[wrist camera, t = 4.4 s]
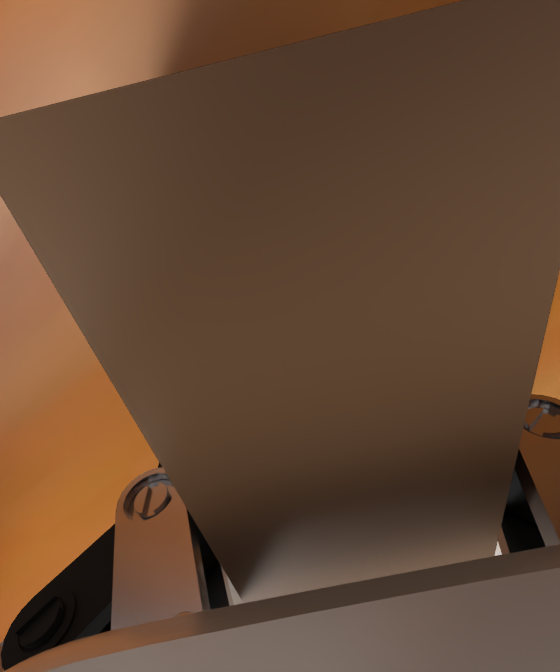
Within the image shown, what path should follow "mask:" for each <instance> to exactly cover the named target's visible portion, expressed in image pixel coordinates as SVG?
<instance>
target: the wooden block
mask: <svg viewBox="0 0 560 672" xmlns="http://www.w3.org/2000/svg"><path fill="white" fill-rule="evenodd" d="M0 195H1V197H2V199H3V200H4V202H5V204H6V205H7V207H8V209H9V210H10V212H11V214H12V215H13V217H14V219H15V220H16V222H17V224H18V225H19V227H20V229H21V230H22V232H23V234H24V236H25V237H26V239H27V241H28V242H29V244H30V246H31V247H32V249H33V251H34V252H35V254H36V256H37V257H38V259H39V261H40V262H41V264H42V266H43V267H44V269H45V271H46V272H47V274H48V276H49V277H50V279H51V281H52V283H53V284H54V286H55V288H56V289H57V291H58V293H59V294H60V296H61V298H62V299H63V301H64V303H65V304H66V306H67V308H68V309H69V311H70V313H71V314H72V316H73V318H74V319H75V321H76V323H77V325H78V326H79V328H80V330H81V331H82V333H83V335H84V336H85V338H86V340H87V341H88V343H89V345H90V346H91V348H92V350H93V351H94V353H95V355H96V356H97V358H98V360H99V361H100V363H101V365H102V367H103V368H104V370H105V372H106V373H107V375H108V377H109V378H110V380H111V382H112V383H113V385H114V387H115V388H116V390H117V392H118V393H119V395H120V397H121V398H122V400H123V402H124V403H125V405H126V407H127V408H128V410H129V412H130V414H131V415H132V417H133V419H134V420H135V422H136V424H137V425H138V427H139V429H140V430H141V432H142V434H143V435H144V437H145V439H146V440H147V442H148V444H149V445H150V447H151V449H152V450H153V452H154V454H155V456H156V457H157V459H158V461H159V462H160V464H161V466H162V467H163V469H164V471H165V472H166V474H167V476H168V477H169V479H170V481H171V482H172V484H173V486H174V487H175V489H176V491H177V492H178V494H179V496H180V498H181V499H182V501H183V503H184V504H185V506H186V508H187V509H188V511H189V513H190V514H191V516H192V518H193V519H194V521H195V523H196V524H197V526H198V528H199V529H200V531H201V533H202V534H203V536H204V538H205V539H206V541H207V543H208V545H209V546H210V548H211V550H212V551H213V553H214V555H215V556H216V558H217V560H218V561H219V563H220V565H221V566H222V568H223V570H224V571H225V573H226V575H227V576H228V578H229V580H230V581H231V583H232V585H233V587H234V588H235V590H236V592H237V593H238V595H239V597H240V598H241V600H242V602H243V603H248V602H253V601H258V600H263V599H268V598H274V597H279V596H284V595H289V594H294V593H300V592H305V591H310V590H315V589H321V588H326V587H331V586H336V585H342V584H347V583H352V582H358V581H363V580H368V579H374V578H379V577H384V576H390V575H395V574H400V573H406V572H411V571H417V570H422V569H427V568H433V567H438V566H443V565H449V564H454V563H460V562H465V561H470V560H476V559H481V558H487V557H492V556H494V554H495V550H496V546H497V541H498V537H499V533H500V528H501V524H502V519H503V515H504V511H505V506H506V502H507V497H508V493H509V489H510V484H511V480H512V476H513V471H514V467H515V462H516V458H517V454H518V449H519V445H520V441H521V436H522V432H523V427H524V423H525V419H526V414H527V410H528V406H529V401H530V397H531V392H532V388H533V384H534V379H535V375H536V370H537V366H538V362H539V357H540V353H541V349H542V344H543V340H544V335H545V331H546V327H547V322H548V318H549V314H550V309H551V305H552V300H553V296H554V292H555V287H556V283H557V279H558V274H559V270H560V0H463V1H459V2H455V3H451V4H447V5H443V6H439V7H435V8H431V9H427V10H423V11H420V12H416V13H412V14H408V15H404V16H400V17H396V18H392V19H388V20H384V21H380V22H376V23H372V24H368V25H364V26H360V27H356V28H352V29H348V30H344V31H340V32H336V33H332V34H328V35H324V36H321V37H317V38H313V39H309V40H305V41H301V42H297V43H293V44H289V45H285V46H281V47H277V48H273V49H269V50H265V51H261V52H257V53H253V54H249V55H245V56H241V57H237V58H233V59H229V60H225V61H222V62H218V63H214V64H210V65H206V66H202V67H198V68H194V69H190V70H186V71H182V72H178V73H174V74H170V75H166V76H162V77H158V78H154V79H150V80H146V81H142V82H138V83H134V84H130V85H126V86H123V87H119V88H115V89H111V90H107V91H103V92H99V93H95V94H91V95H87V96H83V97H79V98H75V99H71V100H67V101H63V102H59V103H55V104H51V105H47V106H43V107H39V108H35V109H31V110H27V111H24V112H20V113H16V114H12V115H8V116H4V117H0Z"/></svg>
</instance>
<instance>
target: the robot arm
mask: <svg viewBox="0 0 560 672" xmlns="http://www.w3.org/2000/svg"><path fill="white" fill-rule="evenodd" d="M498 542H499V546H500V549H501V552H502V555H498V556H492V557H487V558H481V559H476V560H470V561H465V562H460V563H454V564H449V565H443V566H438V567H433V568H427V569H422V570H417V571H411V572H406V573H400V574H395V575H390V576H384V577H379V578H374V579H368V580H363V581H358V582H352V583H347V584H342V585H336V586H331V587H326V588H321V589H315V590H310V591H305V592H300V593H294V594H289V595H284V596H279V597H274V598H268V599H263V600H258V601H253V602H248V603H242V604H237V605H234V604H233V600H232V596H231V591H230V587H229V582H228V578H227V575H226V573H225V571H224V570H223V568H222V566H221V565H220V563H219V561H218V560H217V558H216V556H215V555H214V553H213V551H212V550H211V548H210V546H209V545H208V543H207V541H206V539H205V538H204V536H203V534H202V533H201V531H200V529H199V528H198V526H197V524H196V523H195V521H194V519H193V518H192V516H191V514H190V513H189V511H188V509H187V508H186V506H185V504H184V503H183V501H182V499H181V498H180V496H179V494H178V492H177V491H176V489H175V487H174V486H173V484H172V482H171V481H170V479H169V477H168V476H167V474H166V472H165V471H164V469H163V467H162V466H161V464H160V462H159V466H158V468H155V469H152V470H149V471H147V472H145V473H143V474H141V475H139V476H138V477H137V478H135V479H134V480H133V481H132V482H131V483H130V484H129V485H128V486H127V487H126V488H125V490H124V491H123V492H122V494H121V496H120V498H119V500H118V502H117V507H116V516H115V524H114V525H113V526H112V527H111V528H110V529H109V530H107V531H106V532H105V533H104V534H103V535H102V536H101V537H100V538H99V539H98V540H96V541H95V542H94V543H93V544H92V545H91V546H90V547H89V548H88V549H86V550H85V551H84V552H83V553H82V554H81V555H80V556H79V557H78V558H76V559H75V560H74V561H73V562H72V563H71V564H70V565H69V566H68V567H66V568H65V569H64V570H63V571H62V572H61V573H60V574H59V575H58V576H56V577H55V578H54V579H53V580H52V581H51V582H50V583H49V584H48V585H46V586H45V587H44V588H43V589H42V590H41V591H40V592H39V593H38V594H37V595H35V596H34V597H33V598H32V599H31V600H30V601H29V602H28V603H27V605H26V606H25V607H24V608H23V609H22V610H21V611H20V613H19V614H18V615H17V617H16V618H15V620H14V621H13V623H12V624H11V626H10V628H9V630H8V632H7V635H6V637H5V639H4V641H3V642H2V643H0V672H560V400H558V399H556V398H552V397H548V396H544V395H535V394H531V397H530V401H529V406H528V410H527V414H526V419H525V423H524V427H523V432H522V436H521V441H520V445H519V449H518V454H517V458H516V462H515V467H514V471H513V476H512V480H511V484H510V489H509V493H508V497H507V502H506V506H505V511H504V515H503V519H502V524H501V528H500V533H499V537H498Z"/></svg>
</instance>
